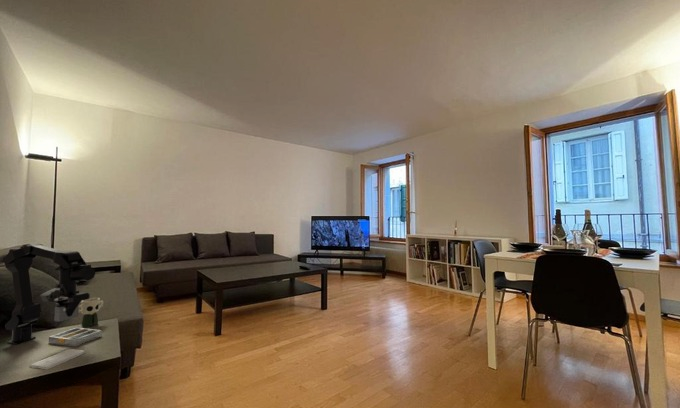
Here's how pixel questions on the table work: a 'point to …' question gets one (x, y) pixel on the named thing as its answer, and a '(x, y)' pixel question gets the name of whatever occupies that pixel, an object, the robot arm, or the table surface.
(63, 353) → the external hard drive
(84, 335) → the rack
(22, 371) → the table surface
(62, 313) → the dark grey block
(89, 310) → the toy figurine
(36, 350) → the table surface
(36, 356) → the table surface
